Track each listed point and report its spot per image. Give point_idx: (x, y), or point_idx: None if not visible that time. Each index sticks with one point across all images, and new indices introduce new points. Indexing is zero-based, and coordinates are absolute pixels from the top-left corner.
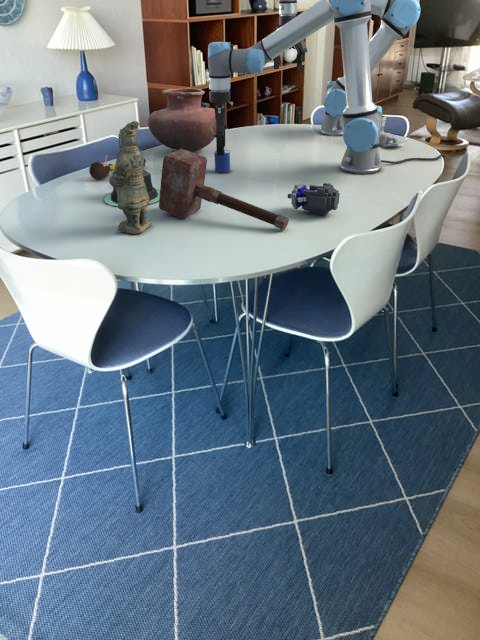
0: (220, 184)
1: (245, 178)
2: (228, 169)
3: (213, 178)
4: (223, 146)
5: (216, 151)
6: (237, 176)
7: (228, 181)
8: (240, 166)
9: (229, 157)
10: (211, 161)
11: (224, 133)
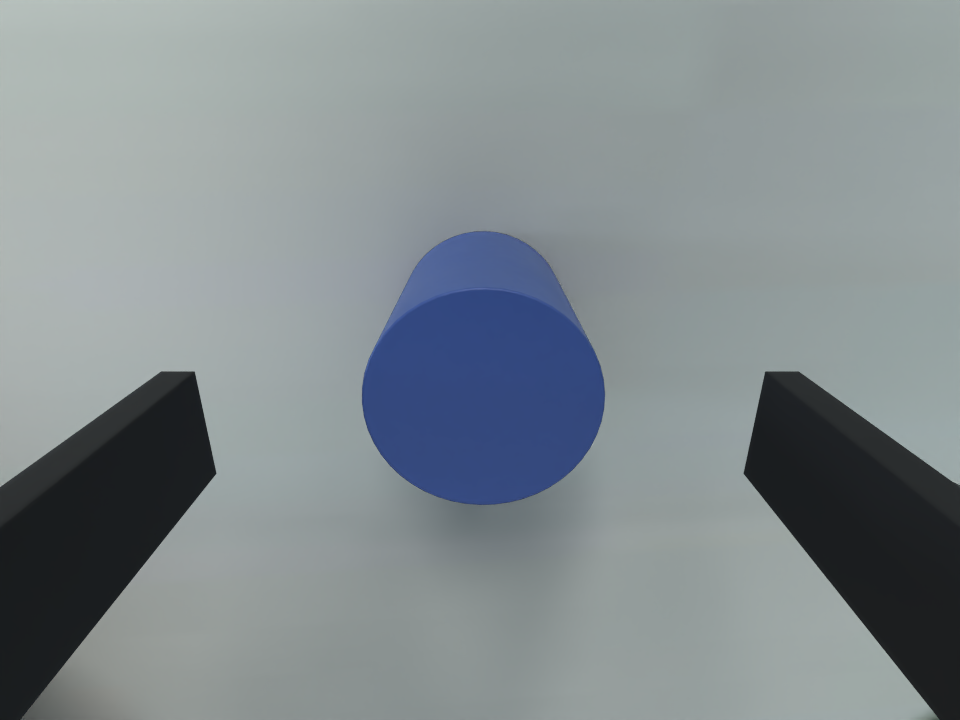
0: (940, 316)
1: (807, 34)
2: (535, 255)
3: (717, 387)
4: (900, 453)
5: (468, 480)
6: (700, 141)
7: (864, 240)
8: (270, 107)
9: (516, 270)
10: None
11: (32, 520)
